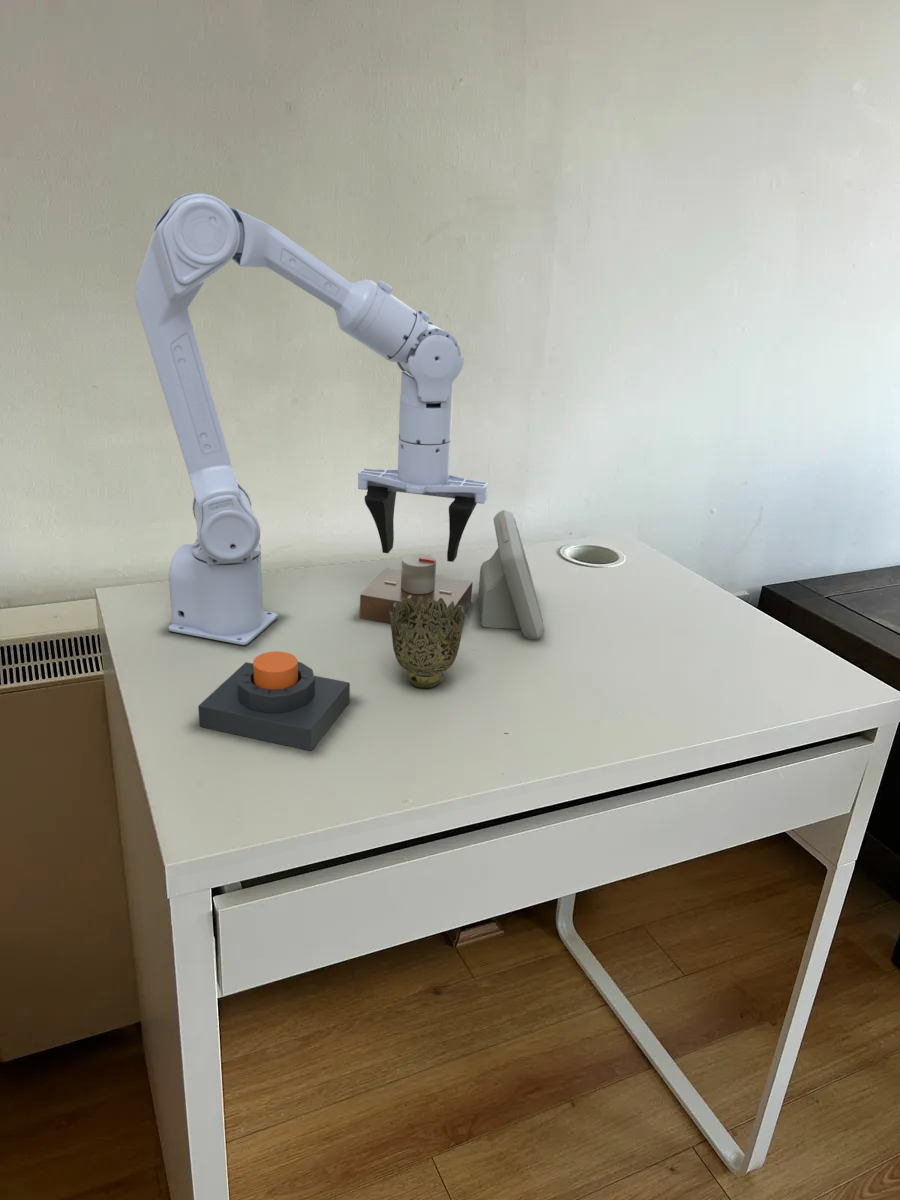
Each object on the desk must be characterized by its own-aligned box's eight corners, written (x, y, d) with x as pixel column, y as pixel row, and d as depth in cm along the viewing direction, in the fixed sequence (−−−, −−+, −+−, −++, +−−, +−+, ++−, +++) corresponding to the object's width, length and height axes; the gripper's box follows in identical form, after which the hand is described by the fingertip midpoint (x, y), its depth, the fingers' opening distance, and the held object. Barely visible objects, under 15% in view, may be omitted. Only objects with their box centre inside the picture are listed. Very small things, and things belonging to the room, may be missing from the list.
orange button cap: (246, 686, 82) (245, 666, 81) (266, 667, 85) (265, 647, 84) (286, 695, 81) (286, 674, 80) (305, 674, 84) (305, 655, 83)
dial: (396, 591, 104) (397, 560, 103) (407, 578, 108) (408, 549, 106) (428, 596, 104) (430, 566, 102) (438, 584, 107) (440, 554, 106)
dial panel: (359, 618, 104) (360, 593, 103) (386, 589, 112) (386, 566, 111) (450, 634, 102) (452, 609, 100) (471, 604, 110) (472, 580, 108)
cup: (452, 705, 88) (457, 631, 84) (379, 694, 89) (381, 620, 85) (466, 670, 94) (471, 600, 91) (398, 660, 95) (400, 591, 92)
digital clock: (541, 647, 100) (551, 558, 96) (462, 636, 101) (468, 548, 97) (553, 591, 115) (562, 512, 110) (483, 582, 116) (490, 503, 112)
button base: (199, 726, 82) (196, 688, 80) (246, 681, 90) (245, 645, 88) (311, 751, 79) (310, 711, 77) (349, 702, 87) (350, 665, 85)
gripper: (349, 440, 96) (348, 558, 102) (482, 454, 94) (474, 575, 99) (369, 426, 103) (367, 537, 108) (494, 439, 100) (485, 553, 106)
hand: (419, 554), depth 104 cm, fingers open, 7 cm apart
